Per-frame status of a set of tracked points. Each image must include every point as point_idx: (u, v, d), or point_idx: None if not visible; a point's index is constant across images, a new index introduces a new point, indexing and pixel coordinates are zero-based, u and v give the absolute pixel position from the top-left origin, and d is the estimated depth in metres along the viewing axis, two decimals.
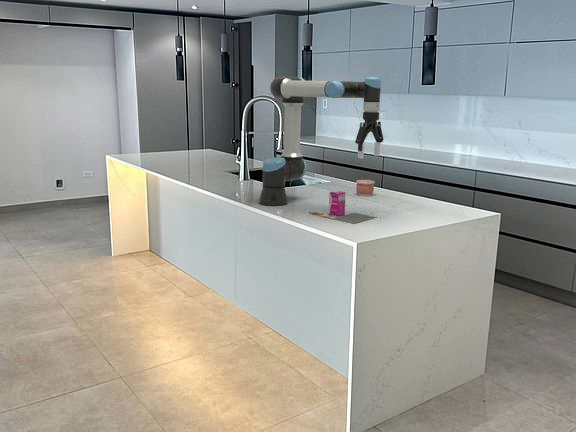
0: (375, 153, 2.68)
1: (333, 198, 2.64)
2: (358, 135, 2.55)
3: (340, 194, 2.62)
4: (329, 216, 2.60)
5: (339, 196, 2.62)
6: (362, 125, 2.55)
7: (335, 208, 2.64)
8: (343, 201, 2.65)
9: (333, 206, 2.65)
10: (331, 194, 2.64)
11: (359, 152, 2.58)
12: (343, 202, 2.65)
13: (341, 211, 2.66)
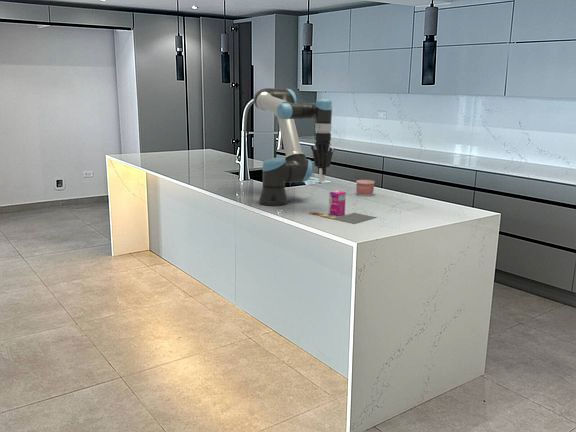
0: None
1: (333, 198, 2.64)
2: None
3: (340, 194, 2.62)
4: (329, 216, 2.60)
5: (339, 196, 2.62)
6: None
7: (335, 208, 2.64)
8: (343, 201, 2.65)
9: (333, 206, 2.65)
10: (331, 194, 2.64)
11: None
12: (343, 202, 2.65)
13: (341, 211, 2.66)
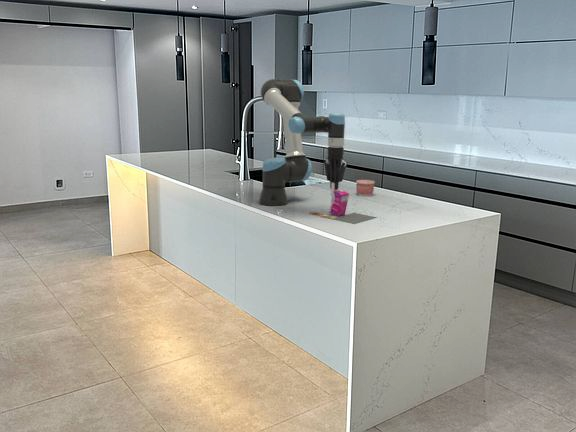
0: None
1: (336, 198, 2.62)
2: None
3: (343, 195, 2.61)
4: (329, 216, 2.60)
5: (342, 197, 2.61)
6: None
7: (336, 208, 2.63)
8: (345, 202, 2.64)
9: (334, 205, 2.64)
10: (334, 193, 2.63)
11: None
12: (345, 203, 2.64)
13: (342, 211, 2.65)
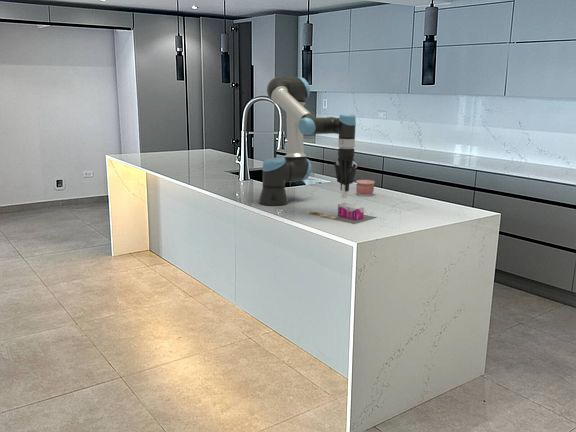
0: None
1: (351, 213, 2.57)
2: None
3: (357, 219, 2.58)
4: (329, 216, 2.60)
5: None
6: None
7: (343, 214, 2.61)
8: None
9: (345, 211, 2.60)
10: (354, 211, 2.56)
11: None
12: None
13: None
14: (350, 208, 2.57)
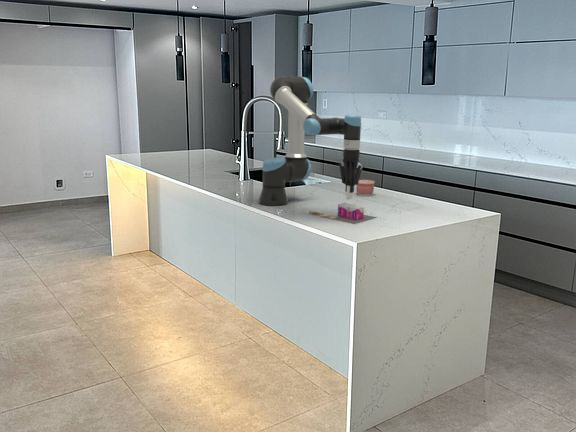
0: None
1: (351, 213, 2.57)
2: None
3: (357, 219, 2.58)
4: (329, 216, 2.60)
5: None
6: None
7: (343, 214, 2.61)
8: None
9: (345, 211, 2.60)
10: (354, 211, 2.56)
11: None
12: None
13: None
14: (350, 208, 2.57)
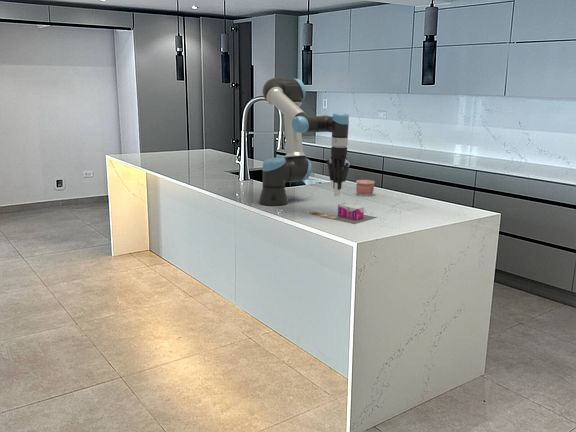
0: None
1: (351, 213, 2.57)
2: None
3: (357, 219, 2.58)
4: (329, 216, 2.60)
5: None
6: None
7: (343, 214, 2.61)
8: None
9: (345, 211, 2.60)
10: (354, 211, 2.56)
11: None
12: None
13: None
14: (350, 208, 2.57)
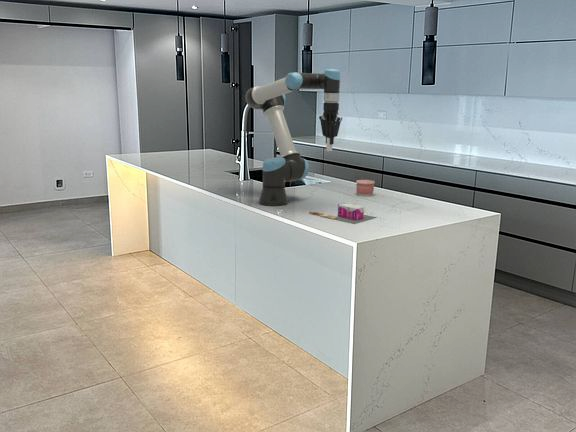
0: None
1: (351, 213, 2.57)
2: None
3: (357, 219, 2.58)
4: (329, 216, 2.60)
5: None
6: None
7: (343, 214, 2.61)
8: None
9: (345, 211, 2.60)
10: (354, 211, 2.56)
11: None
12: None
13: None
14: (350, 208, 2.57)
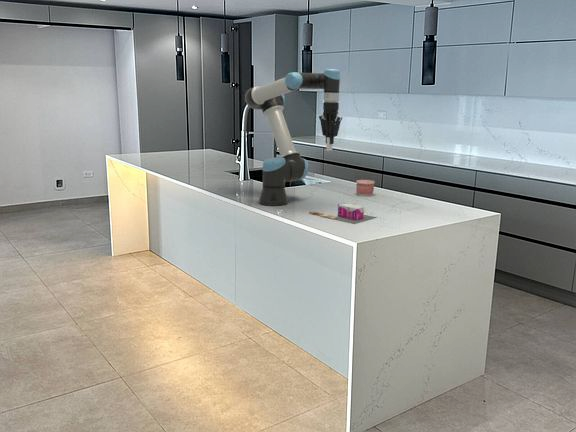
0: None
1: (351, 213, 2.57)
2: None
3: (357, 219, 2.58)
4: (329, 216, 2.60)
5: None
6: None
7: (343, 214, 2.61)
8: None
9: (345, 211, 2.60)
10: (354, 211, 2.56)
11: None
12: None
13: None
14: (350, 208, 2.57)
